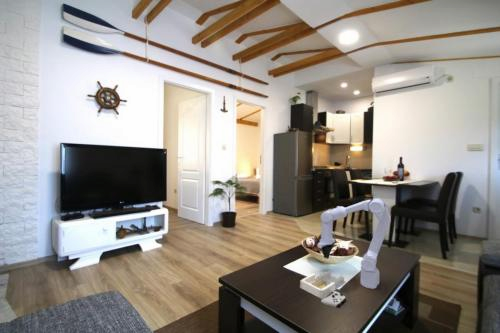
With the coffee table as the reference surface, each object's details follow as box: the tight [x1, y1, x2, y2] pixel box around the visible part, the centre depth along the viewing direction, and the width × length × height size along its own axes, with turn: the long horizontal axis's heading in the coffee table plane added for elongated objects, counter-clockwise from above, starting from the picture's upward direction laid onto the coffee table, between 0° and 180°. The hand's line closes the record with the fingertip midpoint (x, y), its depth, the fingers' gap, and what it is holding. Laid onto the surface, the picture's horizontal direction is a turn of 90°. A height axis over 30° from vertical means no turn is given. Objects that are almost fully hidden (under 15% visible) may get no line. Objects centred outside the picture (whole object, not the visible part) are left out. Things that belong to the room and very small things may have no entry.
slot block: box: [315, 270, 347, 291], centre depth 118 cm, size 11×12×3 cm
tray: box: [299, 273, 336, 300], centre depth 110 cm, size 11×12×4 cm
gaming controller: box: [320, 290, 347, 308], centre depth 101 cm, size 11×6×7 cm
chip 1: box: [312, 281, 323, 289], centre depth 110 cm, size 4×4×2 cm
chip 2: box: [316, 279, 327, 288], centre depth 112 cm, size 4×4×2 cm
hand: (326, 257), depth 126 cm, fingers closed
